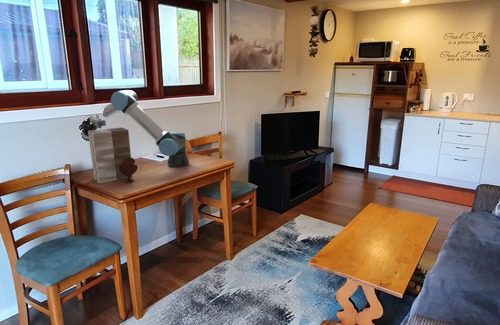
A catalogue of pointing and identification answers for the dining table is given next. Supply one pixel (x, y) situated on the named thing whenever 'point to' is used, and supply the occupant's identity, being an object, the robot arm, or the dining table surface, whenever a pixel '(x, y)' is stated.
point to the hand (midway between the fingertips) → (94, 116)
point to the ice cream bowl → (128, 168)
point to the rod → (98, 122)
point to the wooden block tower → (109, 153)
